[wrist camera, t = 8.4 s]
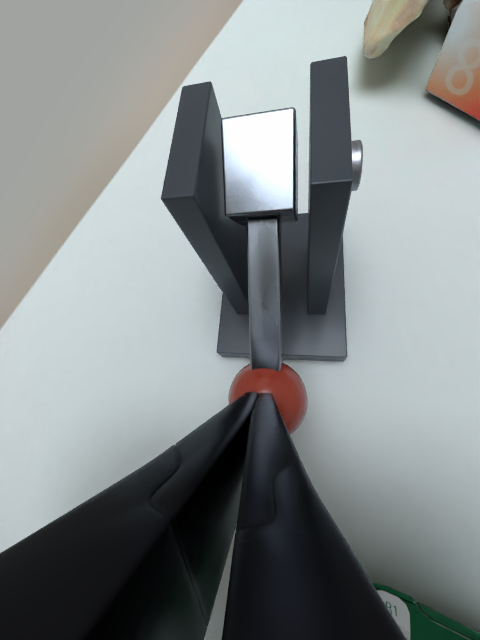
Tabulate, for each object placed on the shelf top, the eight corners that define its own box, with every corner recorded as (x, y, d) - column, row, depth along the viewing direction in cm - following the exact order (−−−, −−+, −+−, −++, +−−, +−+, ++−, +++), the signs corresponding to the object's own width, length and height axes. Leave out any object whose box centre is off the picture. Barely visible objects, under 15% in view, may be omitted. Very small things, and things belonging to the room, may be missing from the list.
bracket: (344, 361, 16) (411, 266, 6) (222, 356, 17) (110, 275, 7) (339, 222, 19) (379, -4, 9) (234, 229, 20) (164, 44, 10)
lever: (306, 418, 12) (307, 463, 10) (239, 412, 13) (220, 454, 10) (309, 142, 11) (310, 96, 8) (229, 152, 11) (203, 113, 8)
